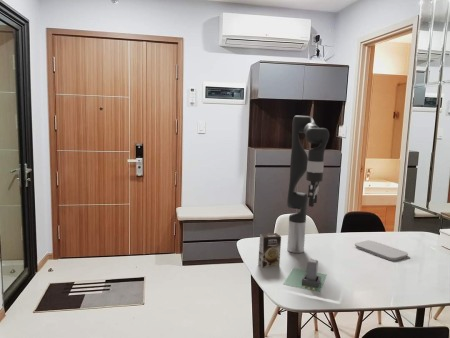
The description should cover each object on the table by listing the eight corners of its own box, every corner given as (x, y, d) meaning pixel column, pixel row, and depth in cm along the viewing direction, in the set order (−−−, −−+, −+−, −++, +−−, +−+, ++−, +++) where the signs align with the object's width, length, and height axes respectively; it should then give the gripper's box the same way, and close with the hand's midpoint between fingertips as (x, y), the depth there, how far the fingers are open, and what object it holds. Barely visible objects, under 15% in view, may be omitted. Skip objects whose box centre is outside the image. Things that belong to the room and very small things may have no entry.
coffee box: (262, 269, 176) (264, 237, 173) (257, 264, 182) (259, 233, 180) (279, 268, 178) (281, 236, 176) (274, 263, 184) (276, 232, 182)
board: (293, 270, 176) (293, 263, 176) (326, 276, 170) (327, 269, 169) (282, 286, 158) (283, 278, 157) (320, 294, 152) (320, 286, 151)
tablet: (369, 243, 222) (370, 239, 221) (410, 257, 200) (410, 253, 200) (352, 247, 213) (352, 243, 213) (392, 262, 191) (393, 258, 191)
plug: (307, 280, 162) (309, 258, 161) (316, 282, 161) (318, 259, 160) (305, 283, 159) (307, 261, 158) (314, 285, 157) (316, 262, 156)
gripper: (309, 168, 177) (307, 200, 179) (303, 171, 164) (301, 206, 166) (325, 169, 174) (323, 202, 176) (320, 173, 161) (318, 208, 163)
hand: (312, 204), depth 171 cm, fingers open, 8 cm apart
